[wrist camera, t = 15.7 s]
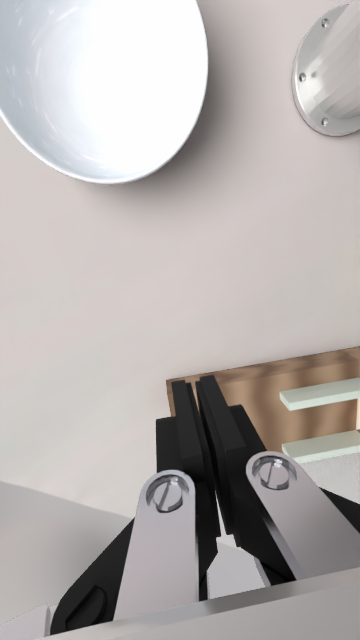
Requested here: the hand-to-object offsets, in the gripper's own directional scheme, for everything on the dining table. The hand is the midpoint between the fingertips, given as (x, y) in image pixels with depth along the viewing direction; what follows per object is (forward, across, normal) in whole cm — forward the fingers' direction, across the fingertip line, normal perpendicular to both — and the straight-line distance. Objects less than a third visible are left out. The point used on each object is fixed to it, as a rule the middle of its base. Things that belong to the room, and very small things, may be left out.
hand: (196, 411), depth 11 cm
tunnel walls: (+25, -20, +22) cm, 39 cm away
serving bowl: (+29, +3, -23) cm, 37 cm away
